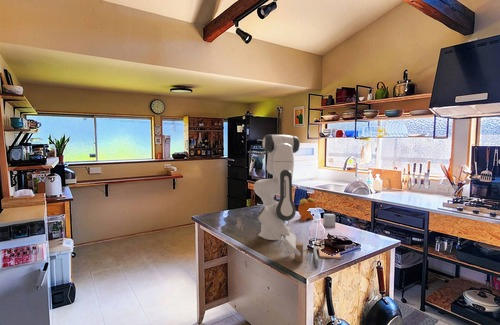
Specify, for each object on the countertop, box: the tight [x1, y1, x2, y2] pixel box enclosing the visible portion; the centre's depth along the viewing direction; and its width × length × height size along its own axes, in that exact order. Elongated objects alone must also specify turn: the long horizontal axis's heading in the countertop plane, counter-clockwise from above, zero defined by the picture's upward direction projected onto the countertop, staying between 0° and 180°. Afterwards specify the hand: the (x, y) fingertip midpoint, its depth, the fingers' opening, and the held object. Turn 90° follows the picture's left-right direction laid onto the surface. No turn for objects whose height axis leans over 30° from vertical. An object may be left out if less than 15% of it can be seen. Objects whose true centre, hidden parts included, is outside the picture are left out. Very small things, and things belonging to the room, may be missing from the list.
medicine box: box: [322, 213, 336, 228], centre depth 208 cm, size 8×4×9 cm, turn 92°
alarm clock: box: [297, 197, 316, 222], centre depth 226 cm, size 13×6×20 cm, turn 115°
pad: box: [318, 250, 342, 260], centre depth 158 cm, size 12×11×1 cm
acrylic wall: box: [313, 245, 319, 268], centre depth 150 cm, size 18×1×4 cm, turn 170°
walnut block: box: [294, 241, 304, 263], centre depth 149 cm, size 4×4×9 cm
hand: (300, 251), depth 149 cm, fingers open, 8 cm apart
